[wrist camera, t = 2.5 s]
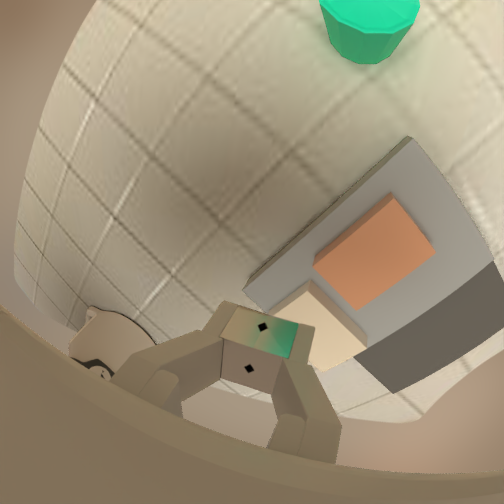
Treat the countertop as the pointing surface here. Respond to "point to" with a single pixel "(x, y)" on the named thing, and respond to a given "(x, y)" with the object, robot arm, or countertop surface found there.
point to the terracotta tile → (374, 253)
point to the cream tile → (322, 326)
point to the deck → (415, 283)
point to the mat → (439, 333)
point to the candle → (368, 26)
